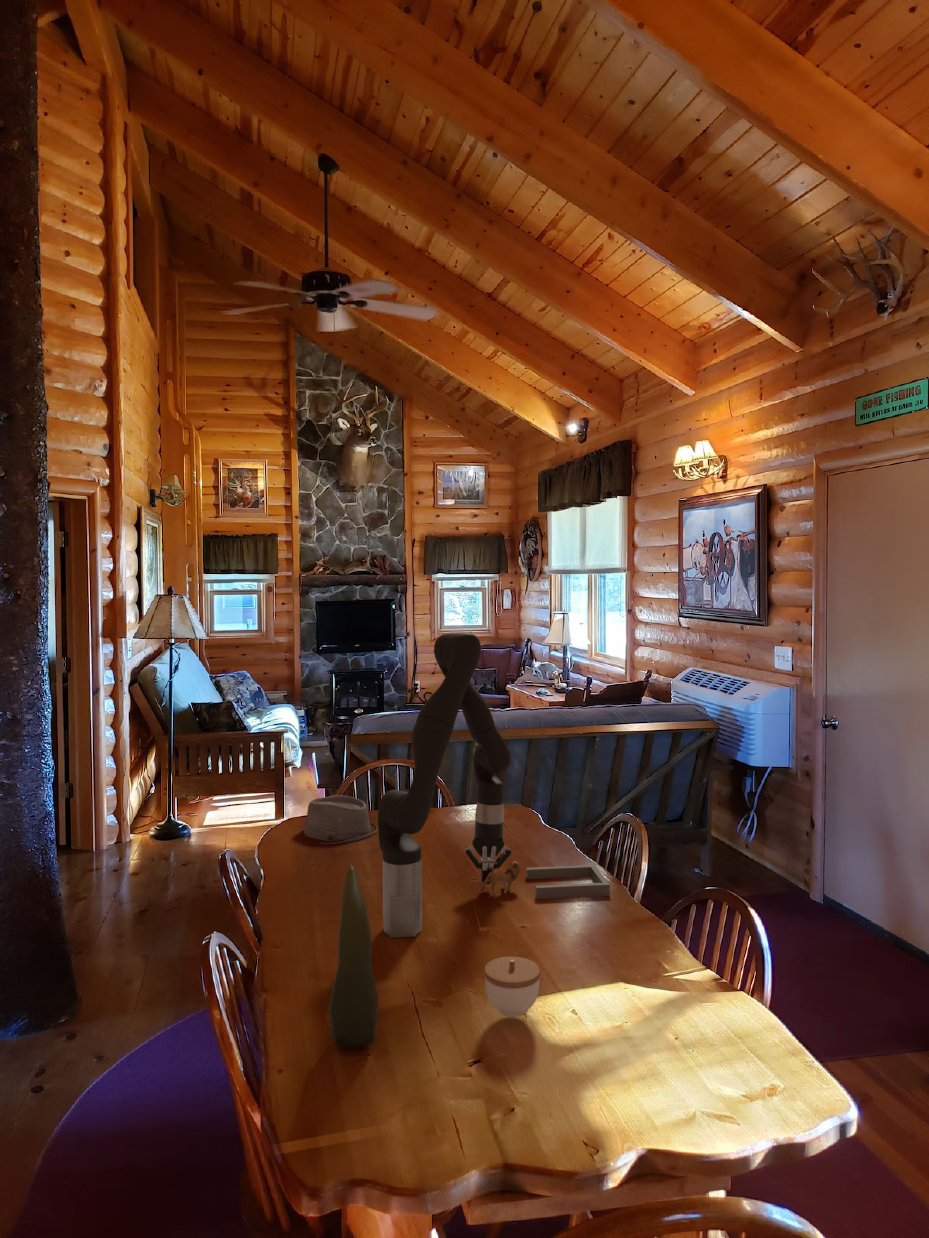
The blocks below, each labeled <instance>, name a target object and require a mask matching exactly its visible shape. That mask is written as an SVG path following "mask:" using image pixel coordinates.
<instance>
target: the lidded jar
mask: <svg viewBox="0 0 929 1238" xmlns="http://www.w3.org/2000/svg"><path fill="white" fill-rule="evenodd" d="M483 972H484V984H485V985H484V986H485V991H486V995H487V999H488V1000H489V1003H490V1004H491V1006H493V1007H494V1008H495V1009H496V1011H497V1012H498V1014H501V1015H502V1016H506V1017H511V1018H514V1017H520V1016H523V1015H526V1013H527V1012H528V1010H530V1009H531V1007H532V1006H533V1005H534V1003H536V1000H537V998H538V995H539V990H540V977H541V969H540V967H539V965H538V964H536V962H534V961H533V960H531V959H528V958H525V957H520V956H502V957H498V958H494V959H492V960H490V961H489V962H487V963H486V965H485V966H484V970H483Z"/></svg>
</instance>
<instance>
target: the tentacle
mask: <svg viewBox="0 0 929 1238" xmlns="http://www.w3.org/2000/svg"><path fill="white" fill-rule="evenodd" d="M339 911H340V912H339V921H338V929H337V930H338V931H337V942H336V946H337V947H336V954H337V960H338V961H337V962H338V963H337V967H336V971H335V976H334V980H333V985H332V989H331V994H330V999H329V1004H328V1009H327V1013H328V1015H329V1018H330V1019H329V1030H330V1034H331V1038H332V1040H333V1042H334V1044H335V1045H336V1047H337V1048H357V1047H361V1046H364V1045H367V1044H370V1043H374V1040H375V1032H376V1031H375V1030H376V1025H377V1017H378V1005H379V996H378V995H379V994H378V990H377V985H376V981H375V976H374V972H373V967H372V934H371V933H372V932H371V926H370V921H369V914H368V908H367V904H366V900H365V899H364V897H363V894H362V890H361V885H360V881H359V877H358V873H357V871H356V869H355V868H354V866H353V865H352V864H350V866H349V867H348V870H347V873H346V878H345V882H344V888H343V891H342V897H341V903H340V910H339Z"/></svg>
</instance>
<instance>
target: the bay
mask: <svg viewBox="0 0 929 1238" xmlns="http://www.w3.org/2000/svg"><path fill="white" fill-rule="evenodd" d="M525 869H526V870H525V875H526V876H525V877H526V880H537V879H538V880H541V879H542V880H543V879H559V878H581V877H583V878H584V877H590V878H591V879H592V880H593V882H594V883H593V882H592V883H590V882H589V883H587V882H586V883H570V884H568V883H567V884H566V883H565V884H549V885H548V884H546V885H545V884H544V885H535V891H534V893H535V895H534V896H535V899H536V900H551V899H570V898H571V899H572V898H573V899H574V898H575V899H576V898H592V897H593V898H594V897H610V896H611V884H610V883H609V882H608V880H607V879H606V878H605V876H604V875H603V874H602V872H601V871H600V870H599V868H598V867H597V866H596V864H585V865H565V866H564V865H562V866H561V865H560V866H541V867H540V866H537V867H536V866H535V867H526V868H525Z"/></svg>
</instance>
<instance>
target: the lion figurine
mask: <svg viewBox="0 0 929 1238" xmlns="http://www.w3.org/2000/svg"><path fill="white" fill-rule="evenodd" d="M520 871H521V865H520V863H519V861H516V860H514V861H511V862H509V865H508V866H507V868H506V870H503V871H497V870H493V871H491V872H490V873H489V874H488V876H487V877H486V879H485V881H484V882H482V884H481V887H480V888H481V890H480V893H481V892H483V891H484V890H485V889H486V885H487V884H486V883H487V882H489V881H490V880H491V882H490V884H491V886H490V890H491V892H492V894H497V891H496V890H494V889H495V886H496V885H497V883H501V884H500V885H501V887H502V888H505V887H506V883H507V887H506V890H507V891H508V892H511V886H512V885H513V882H514V881H516V880H517V878H518V876H519V874H520Z"/></svg>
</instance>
